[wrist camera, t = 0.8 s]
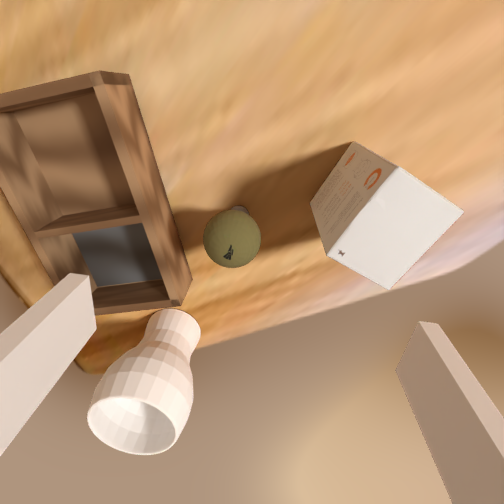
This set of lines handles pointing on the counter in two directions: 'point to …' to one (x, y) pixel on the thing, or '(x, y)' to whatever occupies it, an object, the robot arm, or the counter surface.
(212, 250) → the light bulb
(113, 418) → the cup
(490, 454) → the robot arm
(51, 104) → the walled box
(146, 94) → the counter surface
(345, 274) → the counter surface
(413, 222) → the small box
